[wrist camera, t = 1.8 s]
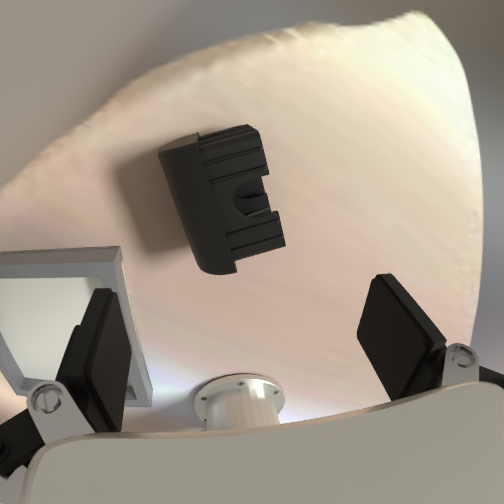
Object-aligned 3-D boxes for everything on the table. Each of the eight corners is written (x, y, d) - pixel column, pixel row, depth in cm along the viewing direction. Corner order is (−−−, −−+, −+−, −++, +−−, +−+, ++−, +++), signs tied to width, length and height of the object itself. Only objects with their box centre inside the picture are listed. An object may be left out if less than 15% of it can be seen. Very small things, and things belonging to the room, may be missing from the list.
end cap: (163, 142, 25) (150, 157, 19) (245, 118, 25) (258, 125, 19) (198, 245, 30) (198, 285, 24) (271, 223, 30) (289, 258, 24)
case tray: (152, 389, 38) (151, 407, 36) (22, 379, 35) (16, 394, 32) (120, 246, 28) (113, 261, 26) (-35, 254, 25) (-48, 266, 23)
